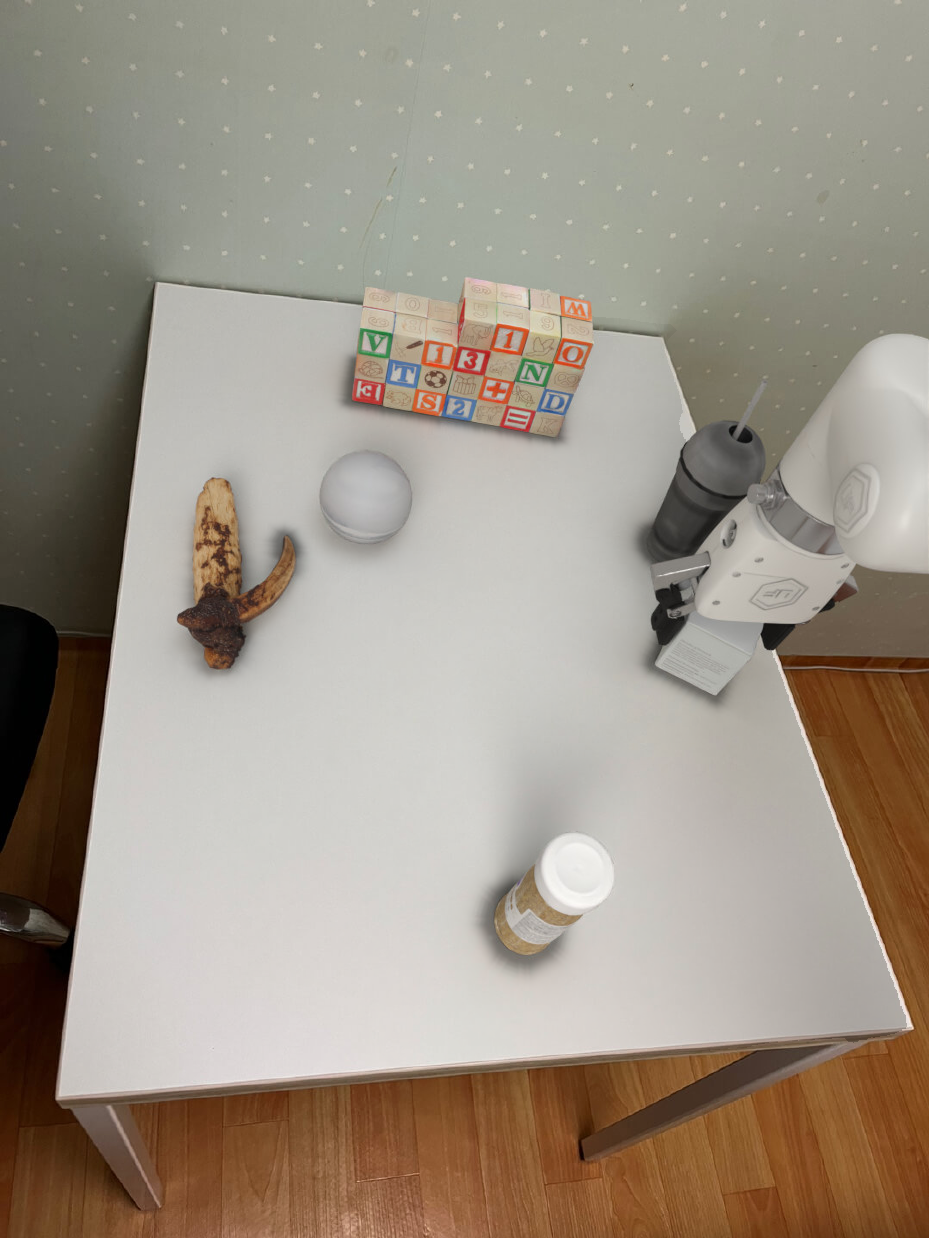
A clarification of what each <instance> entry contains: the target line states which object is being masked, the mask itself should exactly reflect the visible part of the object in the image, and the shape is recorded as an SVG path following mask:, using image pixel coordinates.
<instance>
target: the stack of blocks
mask: <svg viewBox="0 0 929 1238" xmlns="http://www.w3.org/2000/svg"><path fill="white" fill-rule="evenodd" d="M594 341H595V340H594V324H593V312H592V302H591V301H590V300H585V299H581V298H575V297H570V296H565V295H560V293H558V292H553V291H548V290H543V289H538V288H527V287H524V286H519V285H514V284H508V283H502V282H498V283H497V282H494V281H490V280H484V279H479V278H473V277H467V276H464V279H463V283H462V287H461V292H460V295H459V300H458V302H457V303H456V302H451V301H446V300H441V299H435V298H430V297H426V296H422V295H416V294H410V293H405V292H401V291H398V292H397V291H392V290H388V289H383V288H378V287H372V286H365V289H364V295H363V303H362V310H361V317H360V323H359V330H358V336H357V346H356V360H355V367H354V374H353V377H354V378H353V384H352V392H351V400H352V401H354V402H360V403H365V404H366V403H367V404H372V405H379V406H383V407H385V408H391V409H395V410H402V411H409V412H413V413H419V414H423V415H430V416H436V417H444V418H448V419H449V418H450V419H454V420H455V419H456V420H460V421H467V422H473V423H479V424H484V425H490V426H496V427H499V428H504V429H509V430H514V431H519V432H524V433H525V432H526V433H530V434H534V435H540V436H545V437H550V438H551V437H552V438H557V437H558V436H559V433H560V431H561V427H562V425H563V423H564V421H565V418H566V414H567V412H568V410H569V407H570V405H571V403H572V401H573V398H574V396H575V394H576V392H577V390H578V388H579V386H580V383H581V381H582V378H583V376H584V373H585V369H586V368H585V367H586V363H587V361H588V358H589V357H590V354H591V352H592V349H593V346H594V344H595V342H594Z"/></svg>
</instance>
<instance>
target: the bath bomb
mask: <svg viewBox="0 0 929 1238" xmlns="http://www.w3.org/2000/svg"><path fill="white" fill-rule="evenodd" d="M318 495H319V496H318V498H319V507H320V511H321V514H322V516H323V518H324V520H325V522H326V523H327V525H328V526H329V527H330V528H331V530H333V531H334V532H335V533H336V534H337V535H338V536H339V537H341V538H342V539H344V540H347V541H350V542H352V543H356V544H360V545H374V544H378V543H382V542H384V541H386V540H388V539H390V538H392V537H393V536H395V535H396V534H398V532H399V531H401V529H402V528H403V527H404V526H405V524H406V523H407V521H408V519H409V517H410V514H411V513H412V512H411V511H412V508H413V489H412V485H411V481H410V479H409V477H408V475H407V473H406V471H405V470H404V469H403V467H402V466H401V465H400V464H399V463H398V462H397V461H396V460H395V459H393V458H391V457H390V456H388V455H386V454H384V453H381V452H380V451H379V452H378V451H375V450H366V449H365V450H364V449H363V450H356V451H352V452H349V453H346V454H344V455H343V456H341V457H339V458H337V460H335V462H333V463H332V464H330V466H329V467H328V469H327V470H326V472H325V473H324V476H323V477H322V480H321V482H320V487H319V494H318Z"/></svg>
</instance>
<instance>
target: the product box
mask: <svg viewBox="0 0 929 1238" xmlns="http://www.w3.org/2000/svg"><path fill="white" fill-rule="evenodd" d="M693 596H694V593H693V592H691V594H690V595H689V597H688V598H687V599H689V598H691V597H693ZM684 618H685V622H684V624H683V625H682V626H681V628H680V629H679V630H678V632H677V633H676V634H675V636H674V637H673V638H672V640H671V641H670V643H669V644H667V645H662V647H661V650H660V652H659V653H658V655H657V657H656V660H655V662H654V665H655V667H656V668H658V669H661V670H662V671H664V672H666V673H668V674H671V675H672V676H675V677H677V678H679V679H681V680H683V681H684V682H686V683H689V684H691V685H693V686H694V687H696V688H698V689H700V690H702V691H704V692H706V693H709V694H710V695H712V696H715V697H716V696H717V695H719V693H720V692H721V691H723V689H724V688H725V686H726V685H728V683H729V682H730V681H731V680H732V679H733V678H734V677H735V676H736V675H737V674H738V673H739V672H740V671H741V670H742V669H743V668H744V667H745V666H746V665H747V664H748V663H749V661H750V660H751V659H752V658H753V657H754V654H755V651H756V648H757V646H758V642H759V639H760V637H761V635H760V634H761V632H762V629H763V624H764V623H758V622H740V621H725V620H715V619H710V618H706V617H704V616H702V615H700V614H699V613H698V612H697V610H695V611H693V612H691V613H688V614H686V615H684Z"/></svg>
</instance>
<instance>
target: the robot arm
mask: <svg viewBox="0 0 929 1238" xmlns="http://www.w3.org/2000/svg"><path fill="white" fill-rule="evenodd" d="M856 565H858V566H860V567H863V568H866V569H869V570H872V571H879V572H885V573H887V572H888V573H905V574H922V575H929V338H926V337H924V336H920V335H916V334H911V333H890V334H884V335H882V336H879V337H876V338H874V339H872V340H870V341H869V342H867V343H866V344H865V345H864V346H862V348H861V349H859V350H858V352H856V354H855V355H854V356H853V357H852V359H851V361H850V362H849V363H848V364H847V366H846V368H845V369H844V371H843V372H842V373H841V374H840V376H839V377H838V378H837V379H836V382H835V383H834V384H833V386H832V387H831V388H830V390H829V391H828V393H827V394H826V396H825V397H824V398H823V400H822V402H821V403H819V405H818V407H817V408H816V410H815V411H814V412H813V414H812V415H811V417H810V418H809V419H808V420H807V422H806V424H805V425H804V426H803V428H802V429H801V430H800V432H799V433H798V435H797V436H796V438H795V439H794V441H793V442H792V444H791V445H790V446H789V448H788V449H787V450H786V452H785V453H784V455H782V457H781V459H780V460H779V462H778V463H777V465H775V467H774V468H773V470H772V472H771V473H770V474H769V476H768V477H767V478H766V480H765V481H764V482H760V484H751V485H750V487H749V489H748V492H747V496H746V497H745V498H744V499H743V500H742V501H741V502H740V503H739V504H738V505H737V506H735V507H734V508H733V509H732V510H731V511H730V512H729V513H728V514H727V515H726V517H725V518H724V519H723V520H722V521H721V522H720V523H719V524H718V525H717V526H716V528H715V529H714V530H713V531H712V532H711V534H710V535H709V536H708V537H707V538H706V540H705V541H704V542H703V544H702V545H701V546H700V548H699V549H698V551H697V552H696V554H695V555H693V556H688V557H683V558H679V559H674V560H669V561H665V562H656V563H653V564H651V565H650V566H649V573H650V577H651V582H652V588H653V592H654V596H655V599H656V601H657V602H658V604H657V606H656V607H655V609H654V610H653V612H652V613H651V615H650V626H651V629H652V630H653V631H654V632H655V634H656V639H657V643H658V645H659V646H663V645H667V644H669V643H670V641H671V640H672V638H673V637H674V636H675V634H676V633H677V632H678V630H679V629H680V628H681V626H682V625H683V624H684V622H685V618H684V615H686V614H688V613H691V612H693V611H695V610H697V612H698V613H699V614H700V615H702V616H704V617H706V618H710V619H715V620H725V621H740V622H758V623H764V624H763V629H762V632H761V634H760V639H761V642H762V645H763V648H764V649H765V650H766V651H775V650H776V649H777V648H778V647H779V646H780V645H781V644H782V643H783V642H784V641H785V640H786V638H787V637H789V635H790V634H791V633H792V632H794V630H795V629H796V627H797V626H803V625H807V624H809V623H810V622H811V619H813V618H814V617H816V616H817V615H818V614H821V613H824V612H826V611H827V612H828V611H831V610H832V609H833V608H835V607H836V603H840V602H842V601H844V600H847V599H848V598H850V597H852V596H854V595H856V594H857V593H858V592H859V591H860V589H859V587H858V584H857V581H856V578H855V576H853V575H852V574H851V573H852V571H853V570H854V568H855V567H856ZM689 588H692V593H694V596H693V597H691V598H689V597H688V598H689V599H688V598H686V599H684V600H683V596H682V593H681V592H682V591H685V590H687V589H689ZM796 625H797V626H796Z"/></svg>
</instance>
